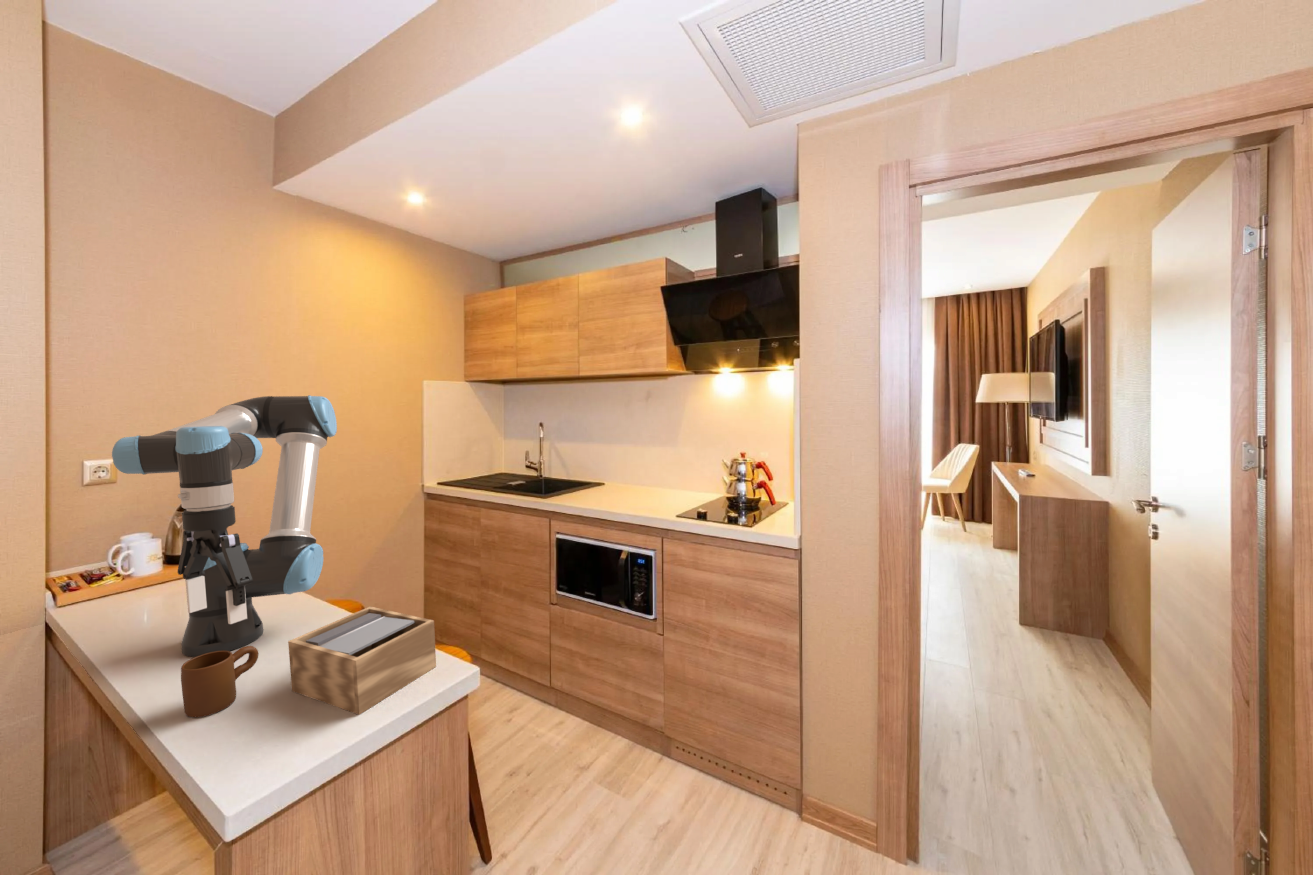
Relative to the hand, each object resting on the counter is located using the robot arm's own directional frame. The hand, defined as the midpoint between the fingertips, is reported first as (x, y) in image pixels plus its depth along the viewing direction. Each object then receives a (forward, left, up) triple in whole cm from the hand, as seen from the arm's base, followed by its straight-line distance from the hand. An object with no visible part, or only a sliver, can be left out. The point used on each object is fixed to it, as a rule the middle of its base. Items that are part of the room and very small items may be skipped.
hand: (217, 615), depth 97 cm
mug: (0, 0, -18) cm, 18 cm away
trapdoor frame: (+19, +16, -17) cm, 30 cm away
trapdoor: (+18, +16, -11) cm, 27 cm away
